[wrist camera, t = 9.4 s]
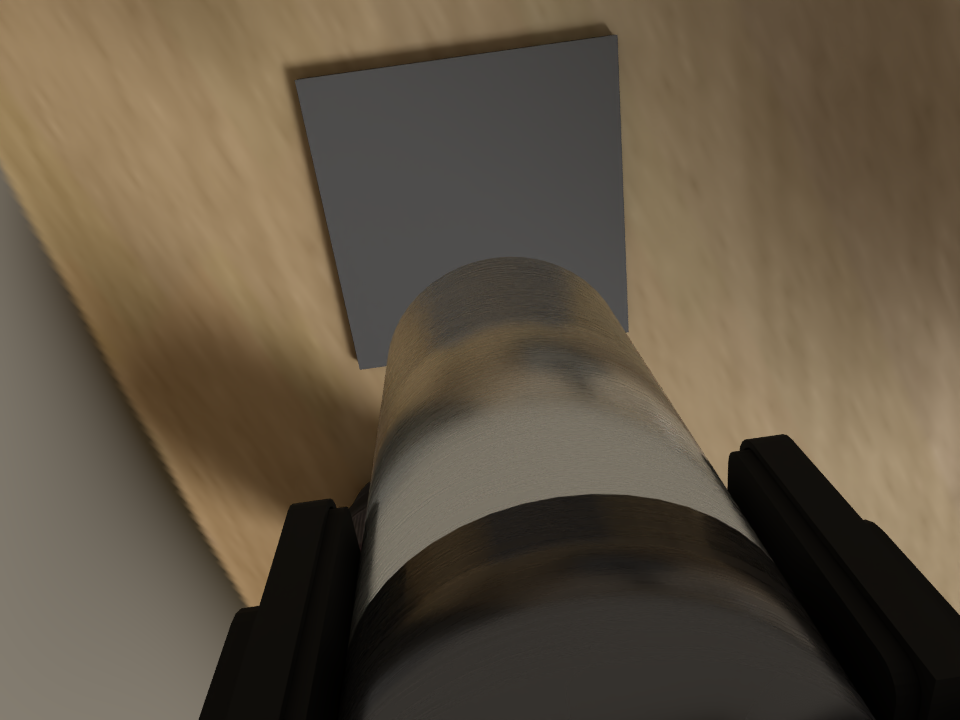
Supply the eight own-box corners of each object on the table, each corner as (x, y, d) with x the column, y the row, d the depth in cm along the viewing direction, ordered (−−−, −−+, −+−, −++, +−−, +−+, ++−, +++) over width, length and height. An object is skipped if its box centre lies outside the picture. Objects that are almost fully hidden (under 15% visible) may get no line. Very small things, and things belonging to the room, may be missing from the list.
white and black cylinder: (619, 239, 14) (958, 613, 5) (628, 454, 16) (873, 980, 7) (365, 275, 14) (243, 715, 5) (409, 485, 16) (380, 1051, 7)
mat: (613, 34, 26) (617, 34, 26) (625, 326, 31) (628, 331, 31) (297, 79, 26) (294, 80, 26) (361, 363, 31) (359, 369, 31)
